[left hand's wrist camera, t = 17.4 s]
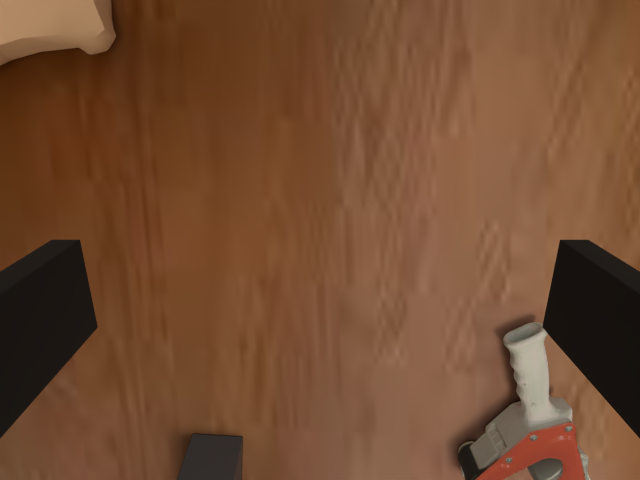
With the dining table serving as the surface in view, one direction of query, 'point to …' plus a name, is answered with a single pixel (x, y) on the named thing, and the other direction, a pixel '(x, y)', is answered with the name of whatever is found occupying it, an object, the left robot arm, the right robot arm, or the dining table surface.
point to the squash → (54, 26)
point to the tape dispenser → (527, 423)
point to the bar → (212, 458)
